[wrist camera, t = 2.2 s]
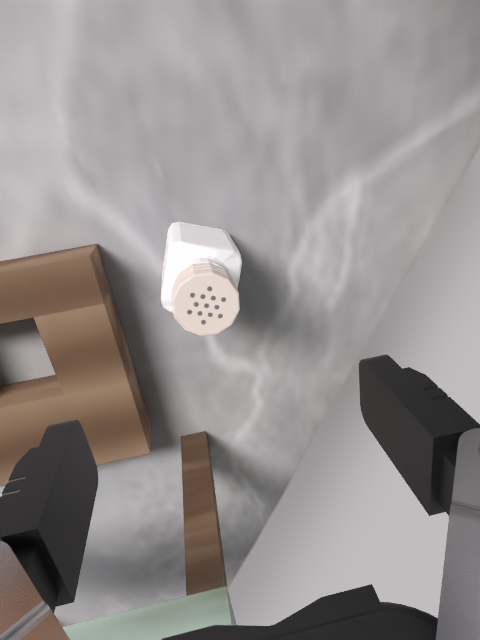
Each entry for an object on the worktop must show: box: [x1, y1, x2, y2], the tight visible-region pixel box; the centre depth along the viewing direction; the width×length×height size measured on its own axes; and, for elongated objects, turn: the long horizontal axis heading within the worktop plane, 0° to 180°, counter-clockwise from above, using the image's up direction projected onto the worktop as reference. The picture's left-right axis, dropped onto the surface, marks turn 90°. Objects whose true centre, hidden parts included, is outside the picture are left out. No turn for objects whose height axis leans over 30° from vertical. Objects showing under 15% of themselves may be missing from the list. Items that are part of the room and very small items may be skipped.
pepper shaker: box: [161, 222, 242, 336], centre depth 24 cm, size 4×4×10 cm
